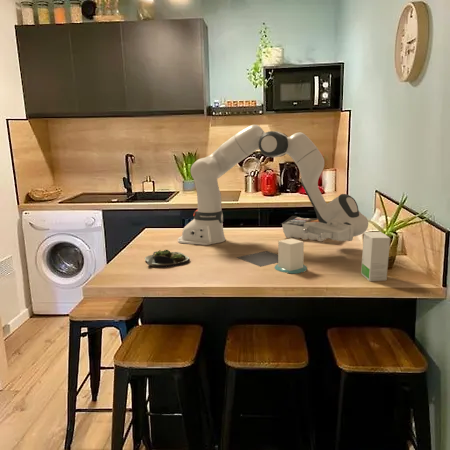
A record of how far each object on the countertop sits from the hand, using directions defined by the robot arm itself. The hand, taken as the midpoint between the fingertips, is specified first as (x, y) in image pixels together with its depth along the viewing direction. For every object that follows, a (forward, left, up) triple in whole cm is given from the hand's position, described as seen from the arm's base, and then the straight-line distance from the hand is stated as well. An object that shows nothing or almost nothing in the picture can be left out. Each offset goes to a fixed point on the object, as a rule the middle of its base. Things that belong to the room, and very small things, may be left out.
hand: (311, 233), depth 183 cm
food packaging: (-1, +44, -12) cm, 46 cm away
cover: (-7, -10, -11) cm, 17 cm away
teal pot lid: (-7, -10, -11) cm, 17 cm away
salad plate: (-57, -7, -12) cm, 59 cm away
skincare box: (+22, -17, -12) cm, 30 cm away
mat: (-19, +1, -11) cm, 22 cm away
